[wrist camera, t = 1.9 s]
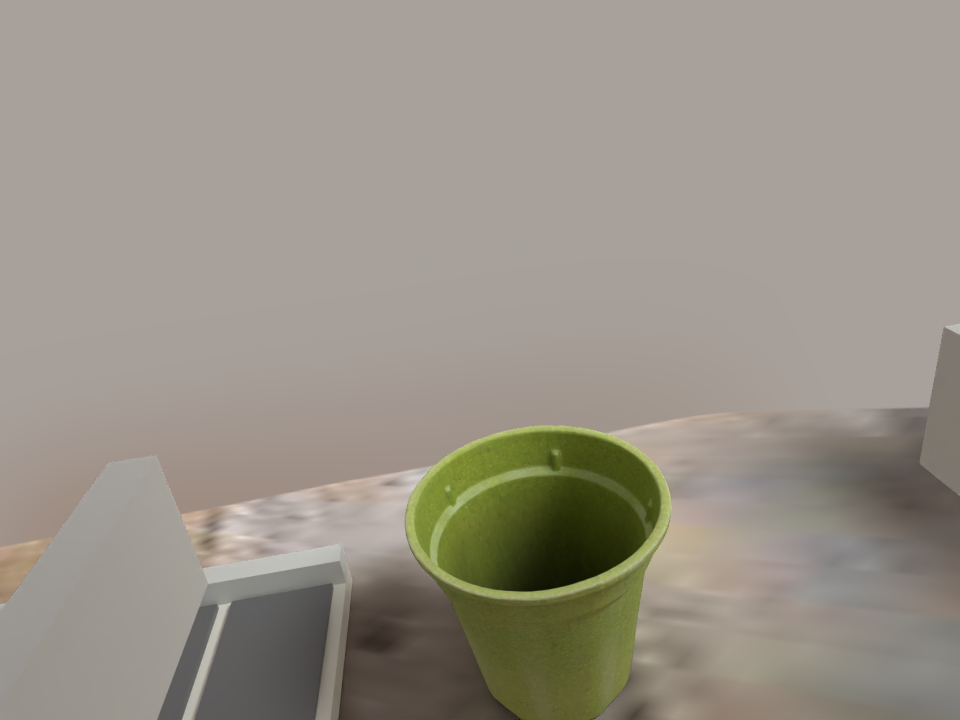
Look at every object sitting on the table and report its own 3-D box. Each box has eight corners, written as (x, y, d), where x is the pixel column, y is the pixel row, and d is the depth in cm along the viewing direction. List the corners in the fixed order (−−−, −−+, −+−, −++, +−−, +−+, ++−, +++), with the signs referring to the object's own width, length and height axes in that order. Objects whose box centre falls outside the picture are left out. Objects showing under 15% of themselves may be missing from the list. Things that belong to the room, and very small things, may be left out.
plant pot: (707, 759, 23) (710, 574, 20) (441, 790, 24) (393, 614, 20) (642, 568, 32) (634, 411, 28) (446, 593, 32) (412, 442, 28)
